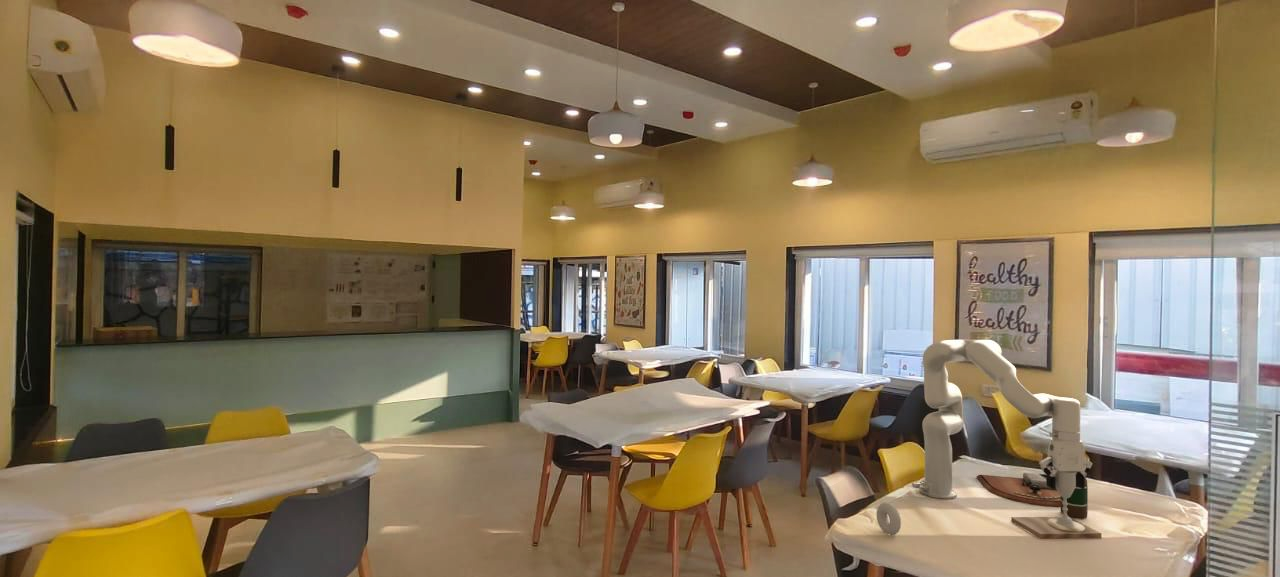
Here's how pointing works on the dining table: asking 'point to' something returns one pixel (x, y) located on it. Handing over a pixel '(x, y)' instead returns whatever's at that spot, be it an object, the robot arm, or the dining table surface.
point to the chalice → (1065, 494)
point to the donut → (893, 515)
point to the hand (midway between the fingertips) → (1065, 487)
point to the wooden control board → (1022, 489)
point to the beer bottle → (1077, 503)
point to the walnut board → (1054, 528)
